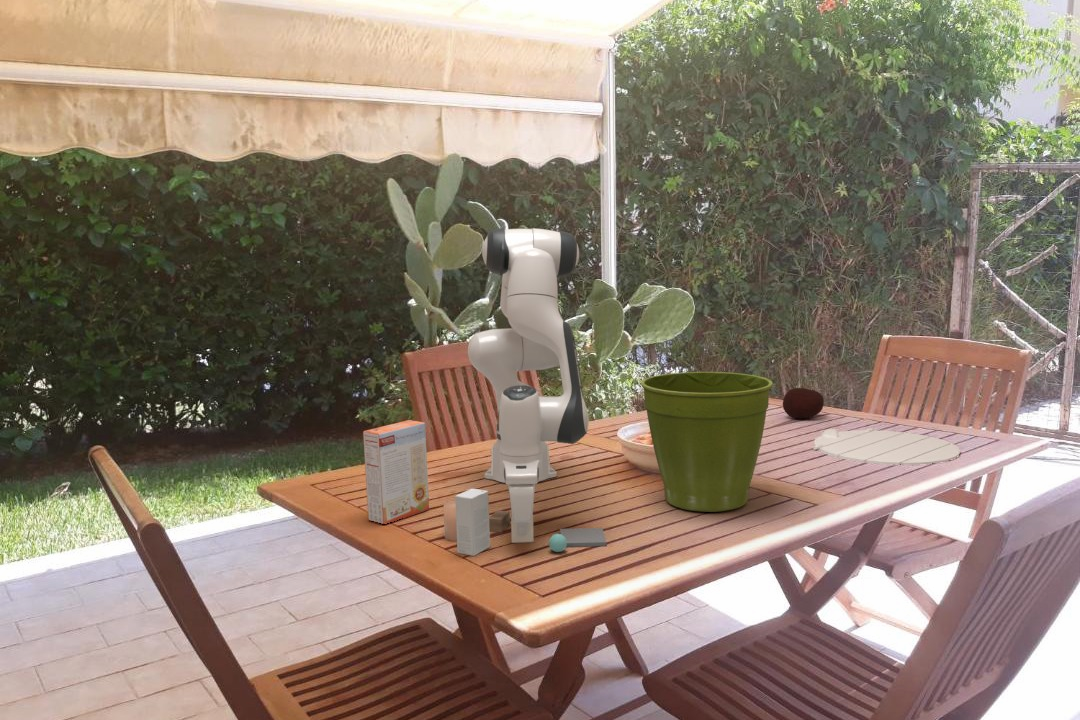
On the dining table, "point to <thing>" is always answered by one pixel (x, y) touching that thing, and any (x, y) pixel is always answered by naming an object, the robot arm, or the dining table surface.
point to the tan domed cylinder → (450, 521)
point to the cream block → (515, 536)
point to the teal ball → (557, 542)
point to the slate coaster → (584, 537)
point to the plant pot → (706, 435)
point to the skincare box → (472, 521)
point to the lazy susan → (885, 447)
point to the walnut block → (499, 521)
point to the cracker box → (396, 471)
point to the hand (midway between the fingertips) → (522, 529)
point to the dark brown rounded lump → (802, 403)
